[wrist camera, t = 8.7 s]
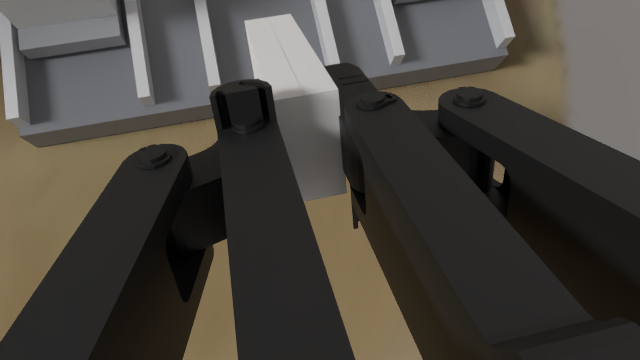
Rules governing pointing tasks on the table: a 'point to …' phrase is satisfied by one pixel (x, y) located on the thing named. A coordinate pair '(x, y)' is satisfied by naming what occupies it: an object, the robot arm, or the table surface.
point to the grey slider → (64, 25)
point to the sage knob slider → (403, 1)
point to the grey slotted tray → (234, 58)
